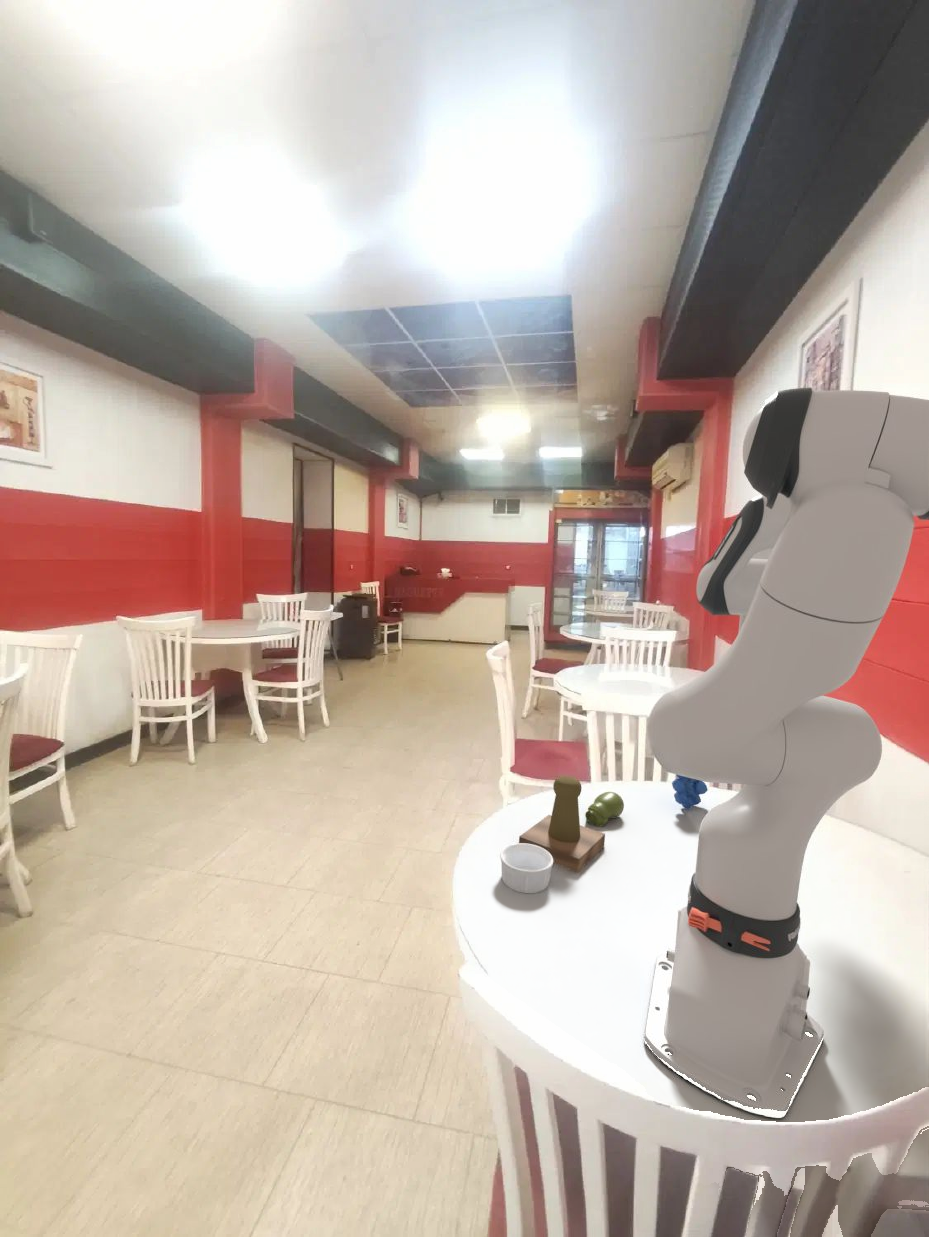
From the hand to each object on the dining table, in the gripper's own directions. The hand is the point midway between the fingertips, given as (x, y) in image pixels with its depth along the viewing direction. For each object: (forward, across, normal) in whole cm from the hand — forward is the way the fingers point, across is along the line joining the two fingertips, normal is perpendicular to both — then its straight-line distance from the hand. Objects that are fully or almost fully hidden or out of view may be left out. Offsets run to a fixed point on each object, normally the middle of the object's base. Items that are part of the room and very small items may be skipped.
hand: (758, 706), depth 100 cm
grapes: (+29, +15, +13) cm, 35 cm away
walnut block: (+29, -20, +28) cm, 45 cm away
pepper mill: (+27, -20, +28) cm, 43 cm away
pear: (+30, -3, +26) cm, 40 cm away
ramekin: (+30, -34, +28) cm, 53 cm away
